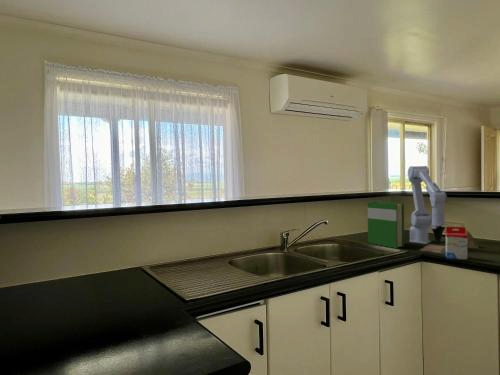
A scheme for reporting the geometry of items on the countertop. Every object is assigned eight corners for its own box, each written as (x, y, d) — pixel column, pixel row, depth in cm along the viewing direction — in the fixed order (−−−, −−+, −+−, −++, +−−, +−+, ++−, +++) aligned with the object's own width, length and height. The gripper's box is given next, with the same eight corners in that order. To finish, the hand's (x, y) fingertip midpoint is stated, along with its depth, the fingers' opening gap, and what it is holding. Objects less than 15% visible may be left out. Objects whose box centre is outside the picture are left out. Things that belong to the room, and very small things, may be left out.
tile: (429, 247, 190) (424, 250, 184) (429, 244, 190) (424, 247, 184) (445, 249, 184) (441, 252, 178) (445, 246, 184) (441, 249, 178)
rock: (483, 243, 188) (464, 237, 197) (480, 231, 184) (461, 226, 193) (472, 257, 185) (453, 251, 193) (469, 246, 181) (450, 240, 190)
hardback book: (404, 247, 194) (404, 203, 193) (396, 249, 189) (396, 204, 188) (375, 242, 208) (375, 201, 207) (368, 244, 204) (367, 202, 202)
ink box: (446, 258, 167) (446, 228, 166) (445, 256, 172) (445, 226, 171) (467, 260, 164) (467, 228, 163) (465, 257, 169) (465, 227, 168)
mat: (418, 250, 185) (418, 249, 185) (426, 246, 194) (426, 246, 194) (445, 254, 176) (445, 253, 176) (452, 249, 185) (452, 249, 185)
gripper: (442, 217, 179) (441, 243, 180) (450, 214, 189) (450, 239, 190) (427, 216, 184) (427, 242, 185) (436, 213, 194) (436, 237, 195)
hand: (438, 240), depth 188 cm, fingers closed
